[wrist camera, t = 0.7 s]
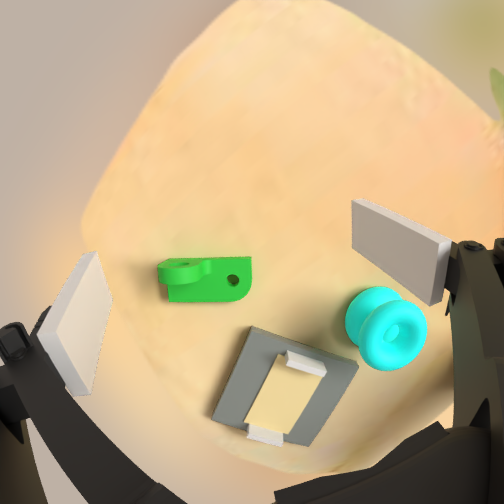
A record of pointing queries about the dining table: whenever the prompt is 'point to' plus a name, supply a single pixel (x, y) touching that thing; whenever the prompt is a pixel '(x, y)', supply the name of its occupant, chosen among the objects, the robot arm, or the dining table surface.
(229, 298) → the mechanical part
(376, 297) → the donuts
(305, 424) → the grey square plate
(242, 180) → the dining table surface
